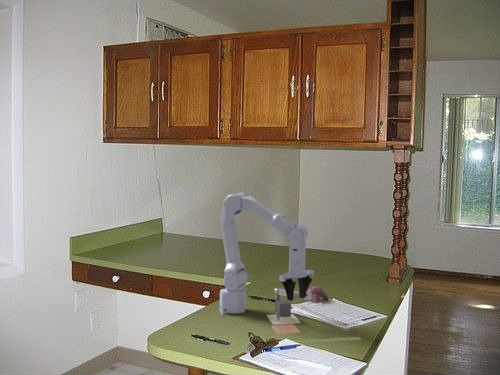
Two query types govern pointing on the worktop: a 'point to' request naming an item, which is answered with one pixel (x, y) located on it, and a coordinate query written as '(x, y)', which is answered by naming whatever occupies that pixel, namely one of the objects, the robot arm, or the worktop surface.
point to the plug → (283, 309)
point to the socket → (283, 320)
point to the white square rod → (296, 295)
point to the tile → (285, 329)
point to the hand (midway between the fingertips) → (296, 298)
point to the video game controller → (317, 294)
